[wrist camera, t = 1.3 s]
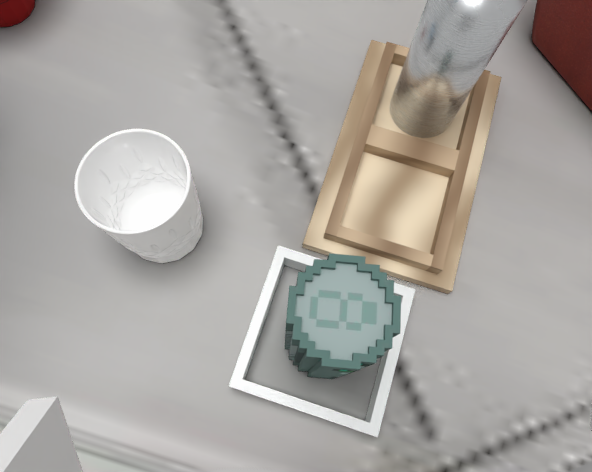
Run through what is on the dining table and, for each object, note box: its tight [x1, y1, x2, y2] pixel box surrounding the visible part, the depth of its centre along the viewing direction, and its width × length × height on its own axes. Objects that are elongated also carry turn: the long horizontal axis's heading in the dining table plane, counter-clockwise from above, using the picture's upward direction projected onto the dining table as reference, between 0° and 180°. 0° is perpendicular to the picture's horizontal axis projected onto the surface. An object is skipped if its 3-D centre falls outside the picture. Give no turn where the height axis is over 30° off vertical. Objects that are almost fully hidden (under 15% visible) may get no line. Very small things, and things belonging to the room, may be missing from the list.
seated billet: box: [389, 0, 527, 138], centre depth 39 cm, size 6×6×15 cm
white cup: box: [74, 129, 203, 263], centre depth 39 cm, size 8×8×10 cm
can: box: [285, 253, 401, 379], centre depth 34 cm, size 6×6×15 cm
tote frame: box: [229, 245, 415, 437], centre depth 40 cm, size 12×12×2 cm
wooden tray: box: [303, 40, 501, 294], centre depth 45 cm, size 13×22×3 cm, turn 162°
